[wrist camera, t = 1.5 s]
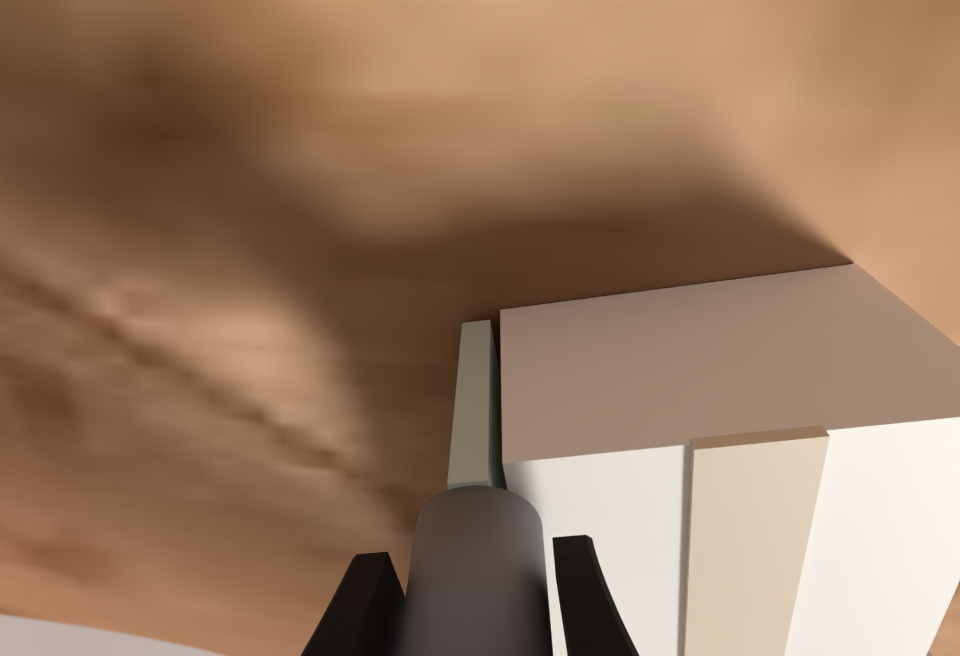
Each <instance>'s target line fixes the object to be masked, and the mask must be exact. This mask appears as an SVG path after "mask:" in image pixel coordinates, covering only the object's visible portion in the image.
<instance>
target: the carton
mask: <svg viewBox="0 0 960 656" xmlns="http://www.w3.org/2000/svg"><path fill="white" fill-rule="evenodd" d="M500 337H501V403H502V464H503V469H504V474H505V479H506V484H507V489H508V491H511V492H513V493H515V494H517V495H519V496H521V497H522V498H524V499H525V500H527V501H528V502H529V503H530V504H531V505H532V506H533V507H534V508H535V509H536V511H537V512H538V514H539V516H540V518H541V522H542V528H543V540H544V552H545V563H546V575H547V587H548V598H549V610H550V622H551V633H552V645H553V656H567V649H566V643H565V636H564V630H563V623H562V616H561V610H560V603H559V596H558V590H557V583H556V575H555V564H554V553H553V541H552V537H563V536H575V535H587V536H589V537H591V538H592V539H593V544H594V548H595V551H596V555H597V558H598V561H599V564H600V567H601V570H602V573H603V575H604V578H605V581H606V583H607V586H608V588H609V591H610V593H611V595H612V598H613V600H614V603H615V605H616V607H617V610H618V612H619V614H620V616H621V619H622V621H623V623H624V625H625V627H626V629H627V631H628V633H629V635H630V637H631V639H632V642H633V644H634V646H635V648H636V650H637V652H638V654H639V656H926V655H927V653H928V651H929V648H930V646H931V644H932V642H933V639H934V637H935V635H936V633H937V630H938V628H939V626H940V624H941V621H942V619H943V617H944V615H945V612H946V610H947V608H948V606H949V604H950V601H951V599H952V597H953V595H954V592H955V590H956V588H957V586H958V583H959V581H960V347H959V346H957V345H956V344H955V343H954V342H952V341H951V340H950V339H949V338H947V337H946V336H945V335H944V334H943V333H941V332H940V331H939V330H938V329H936V328H935V327H934V326H933V325H931V324H930V323H929V322H928V321H926V320H925V319H924V318H923V317H921V316H920V315H919V314H918V313H917V312H915V311H914V310H913V309H912V308H910V307H909V306H908V305H907V304H905V303H904V302H903V301H902V300H900V299H899V298H898V297H897V296H895V295H894V294H893V293H892V292H891V291H889V290H888V289H887V288H886V287H884V286H883V285H882V284H881V283H879V282H878V281H877V280H876V279H874V278H873V277H872V276H871V275H870V274H868V273H867V272H866V271H865V270H863V269H862V268H861V267H860V266H858V265H857V264H849V265H841V266H834V267H826V268H818V269H811V270H803V271H795V272H787V273H780V274H772V275H764V276H757V277H749V278H741V279H733V280H726V281H718V282H710V283H703V284H695V285H687V286H679V287H672V288H664V289H656V290H649V291H641V292H633V293H626V294H618V295H610V296H602V297H595V298H587V299H579V300H572V301H564V302H556V303H548V304H541V305H533V306H525V307H518V308H510V309H502V310H500Z"/></svg>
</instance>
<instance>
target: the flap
mask: <svg viewBox="0 0 960 656" xmlns="http://www.w3.org/2000/svg"><path fill="white" fill-rule="evenodd" d="M447 485H448V489H449V490H448V491H445V492H443V493H441V494H439V495H437V496H435V497H434V498H432V499H431V500H430V501H429V502H427V503H426V504H425V506H424V507H423V508H422V509H421V511H420V513H419V515H418V518H417V522H416V529H415V536H414V543H413V550H412V557H411V564H410V571H409V578H408V585H407V592H406V599H405V606H404V613H403V620H402V627H401V634H400V641H399V648H398V655H397V656H553V645H552V633H551V622H550V610H549V598H548V587H547V575H546V563H545V552H544V540H543V528H542V522H541V518H540V516H539V514H538V512H537V511H536V509H535V508H534V507H533V506H532V505H531V504H530V503H529V502H528V501H527V500H525V499H524V498H522V497H521V496H519V495H517V494H515V493H513V492H511V491H508V489H507V484H506V479H505V474H504V469H503V464H502V403H501V377H500V372H499V366H498V361H497V355H496V350H495V344H494V338H493V333H492V327H491V322H490V320H483V321H475V322H467V323H462V330H461V341H460V352H459V362H458V373H457V384H456V395H455V405H454V416H453V427H452V437H451V448H450V459H449V470H448V480H447Z"/></svg>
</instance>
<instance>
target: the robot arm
mask: <svg viewBox="0 0 960 656" xmlns="http://www.w3.org/2000/svg"><path fill="white" fill-rule="evenodd" d="M552 541H553V553H554V564H555V575H556V583H557V590H558V596H559V603H560V610H561V616H562V623H563V630H564V636H565V643H566V649H567V656H639V654H638V652H637V650H636V648H635V646H634V644H633V642H632V639H631V637H630V635H629V633H628V631H627V629H626V627H625V625H624V623H623V621H622V619H621V616H620V614H619V612H618V610H617V607H616V605H615V603H614V600H613V598H612V595H611V593H610V591H609V588H608V586H607V583H606V581H605V578H604V575H603V573H602V570H601V567H600V564H599V561H598V558H597V555H596V551H595V548H594V544H593V539H592V538H591V537H589V536H587V535H575V536H563V537H552ZM405 599H406V598H405V595H404V593H403V590H402V588H401V585H400V582H399V580H398V577H397V575H396V572H395V569H394V567H393V564H392V562H391V559H390V556H389V554H388V552H380V553H368V554H357V555H356V556H355V557H354V558H353V559H352V561H351V563H350V565H349V567H348V569H347V571H346V573H345V575H344V577H343V579H342V581H341V583H340V585H339V587H338V589H337V591H336V592H335V594H334V596H333V598H332V600H331V602H330V604H329V606H328V608H327V610H326V611H325V613H324V615H323V617H322V619H321V621H320V622H319V624H318V626H317V628H316V630H315V632H314V633H313V635H312V637H311V639H310V640H309V642H308V644H307V646H306V647H305V649H304V651H303V653H302V654H301V656H397V655H398V648H399V641H400V634H401V627H402V620H403V613H404V606H405ZM926 656H932V654H931V653H930V652H929V651H928V653H927V655H926Z"/></svg>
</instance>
